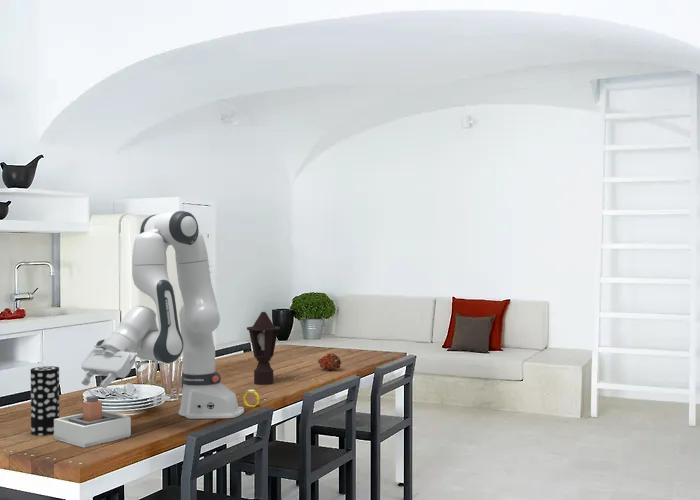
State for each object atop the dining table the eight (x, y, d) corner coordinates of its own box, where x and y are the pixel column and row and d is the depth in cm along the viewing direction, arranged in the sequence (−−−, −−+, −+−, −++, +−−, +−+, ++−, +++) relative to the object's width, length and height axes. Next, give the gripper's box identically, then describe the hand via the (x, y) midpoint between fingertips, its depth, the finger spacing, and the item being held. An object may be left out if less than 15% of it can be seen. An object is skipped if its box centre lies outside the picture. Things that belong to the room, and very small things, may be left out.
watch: (260, 406, 275) (261, 390, 275) (256, 408, 272) (257, 392, 272) (245, 404, 277) (246, 388, 277) (241, 406, 274) (242, 389, 274)
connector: (94, 432, 234) (94, 394, 233) (102, 434, 231) (101, 396, 231) (83, 434, 230) (82, 396, 230) (90, 436, 228) (90, 398, 228)
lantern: (284, 380, 326) (284, 310, 325) (277, 386, 311) (277, 313, 310) (250, 379, 327) (250, 310, 327) (242, 386, 312) (242, 313, 312)
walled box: (100, 428, 242) (100, 409, 242) (130, 436, 232) (130, 416, 232) (54, 438, 229) (53, 419, 229) (84, 447, 219) (83, 427, 219)
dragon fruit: (341, 375, 346) (319, 376, 352) (347, 362, 353) (326, 363, 359) (333, 361, 342) (311, 363, 349) (340, 348, 349) (318, 350, 355)
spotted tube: (63, 428, 242) (62, 366, 242) (54, 435, 234) (53, 370, 233) (37, 429, 242) (36, 366, 241) (26, 435, 233) (26, 370, 233)
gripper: (146, 356, 233) (120, 394, 225) (106, 353, 245) (80, 388, 237) (133, 344, 229) (106, 382, 221) (93, 341, 241) (67, 377, 234)
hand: (93, 385), depth 229 cm, fingers open, 8 cm apart
